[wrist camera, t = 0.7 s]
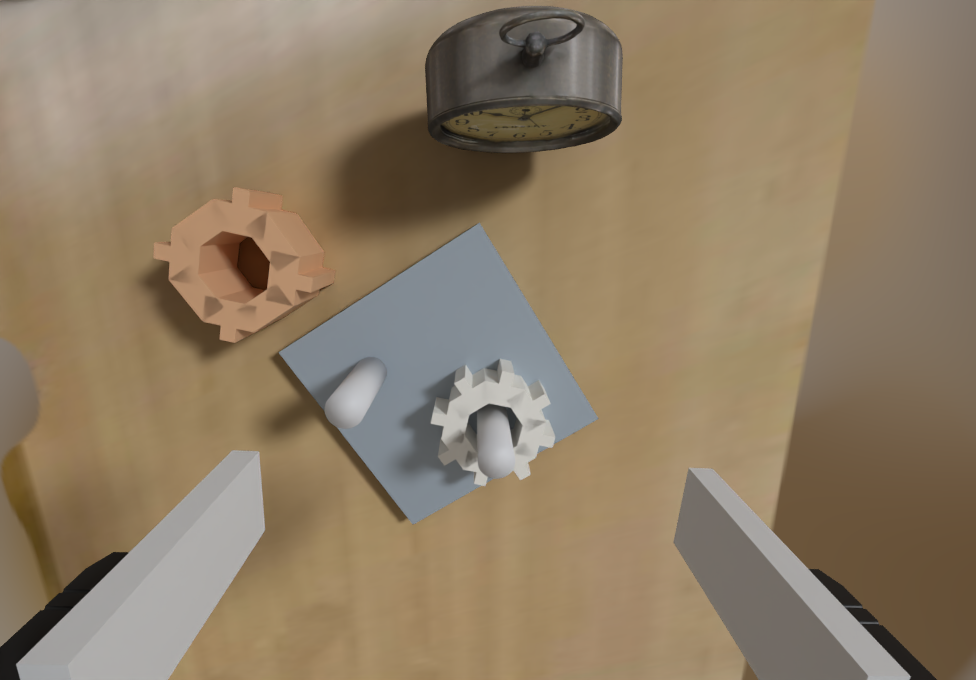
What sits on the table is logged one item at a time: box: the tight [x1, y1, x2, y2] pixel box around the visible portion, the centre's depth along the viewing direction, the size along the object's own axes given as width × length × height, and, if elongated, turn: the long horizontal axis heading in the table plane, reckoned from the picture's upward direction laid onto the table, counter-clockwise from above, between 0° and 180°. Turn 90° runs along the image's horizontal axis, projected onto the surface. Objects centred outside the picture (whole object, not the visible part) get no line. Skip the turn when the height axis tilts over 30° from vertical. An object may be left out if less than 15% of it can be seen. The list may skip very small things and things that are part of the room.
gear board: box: [279, 223, 598, 524], centre depth 32 cm, size 18×18×9 cm
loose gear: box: [154, 187, 336, 343], centre depth 32 cm, size 8×8×5 cm
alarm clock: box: [425, 6, 623, 153], centre depth 24 cm, size 11×5×16 cm, turn 91°
